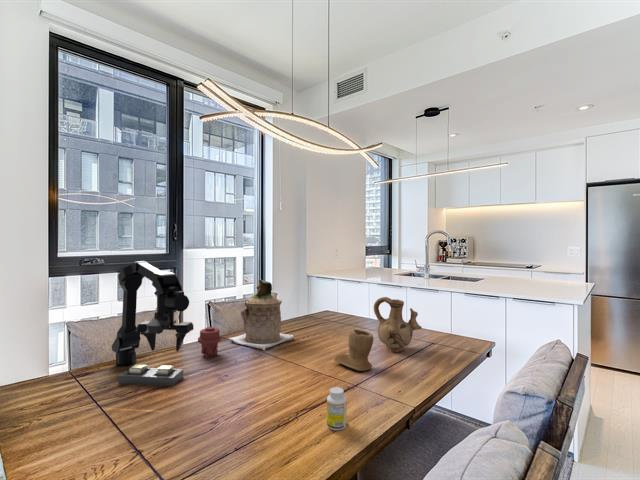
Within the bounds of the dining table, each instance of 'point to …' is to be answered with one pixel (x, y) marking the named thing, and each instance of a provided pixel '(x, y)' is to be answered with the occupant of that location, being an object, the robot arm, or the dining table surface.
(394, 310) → the ceramic vessel
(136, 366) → the beige block
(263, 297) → the cookie jar
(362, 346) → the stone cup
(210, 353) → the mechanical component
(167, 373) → the cream two-tone block
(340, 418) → the supplement bottle
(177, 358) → the dining table surface
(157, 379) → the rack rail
